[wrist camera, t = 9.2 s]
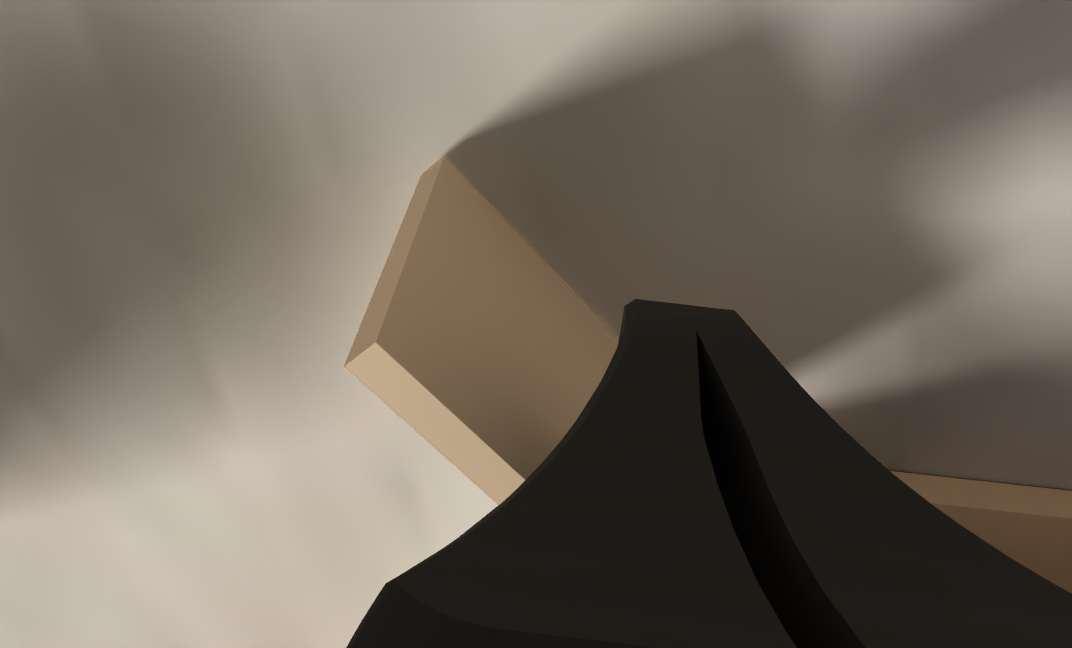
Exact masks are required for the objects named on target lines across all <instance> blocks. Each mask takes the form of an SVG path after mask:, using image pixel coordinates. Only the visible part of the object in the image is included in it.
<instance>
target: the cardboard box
mask: <svg viewBox="0 0 1072 648" xmlns="http://www.w3.org/2000/svg"><path fill="white" fill-rule="evenodd" d="M890 472H891V473H893V474H894V475H895V476H897V477H898V478H899V479H900V480H902V481H903V482H904V483H905V484H907V485H908V486H909V487H910V488H912V489H913V490H914V491H916V492H917V493H918V494H919V495H921V496H922V497H923V498H924V499H926V500H927V501H928V502H929V503H931V504H932V505H933V506H935V507H936V508H938V509H939V510H940V511H942V512H943V513H945V514H946V515H947V516H949V517H950V518H952V519H953V520H954V521H956V522H957V523H959V524H960V525H962V526H963V527H965V528H966V529H968V530H969V531H971V532H972V533H974V534H975V535H977V536H978V537H980V538H981V539H983V540H984V541H986V542H987V543H989V544H990V545H992V546H993V547H995V548H996V549H998V550H999V551H1001V552H1002V553H1004V554H1005V555H1007V556H1009V557H1010V558H1012V559H1013V560H1015V561H1017V562H1018V563H1020V564H1022V565H1023V566H1025V567H1027V568H1028V569H1030V570H1032V571H1033V572H1035V573H1037V574H1038V575H1040V576H1042V577H1043V578H1045V579H1047V580H1048V581H1050V582H1052V583H1054V584H1056V585H1057V586H1059V587H1061V588H1063V589H1065V590H1066V591H1068V592H1070V593H1072V491H1068V490H1059V489H1050V488H1040V487H1031V486H1022V485H1013V484H1004V483H995V482H986V481H977V480H968V479H959V478H950V477H941V476H932V475H923V474H913V473H904V472H895V471H890Z"/></svg>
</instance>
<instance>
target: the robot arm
mask: <svg viewBox="0 0 1072 648" xmlns="http://www.w3.org/2000/svg"><path fill="white" fill-rule="evenodd" d="M346 648H1072V593H1070V592H1068V591H1066V590H1065V589H1063V588H1061V587H1059V586H1057V585H1056V584H1054V583H1052V582H1050V581H1048V580H1047V579H1045V578H1043V577H1042V576H1040V575H1038V574H1037V573H1035V572H1033V571H1032V570H1030V569H1028V568H1027V567H1025V566H1023V565H1022V564H1020V563H1018V562H1017V561H1015V560H1013V559H1012V558H1010V557H1009V556H1007V555H1005V554H1004V553H1002V552H1001V551H999V550H998V549H996V548H995V547H993V546H992V545H990V544H989V543H987V542H986V541H984V540H983V539H981V538H980V537H978V536H977V535H975V534H974V533H972V532H971V531H969V530H968V529H966V528H965V527H963V526H962V525H960V524H959V523H957V522H956V521H954V520H953V519H952V518H950V517H949V516H947V515H946V514H945V513H943V512H942V511H940V510H939V509H938V508H936V507H935V506H933V505H932V504H931V503H929V502H928V501H927V500H926V499H924V498H923V497H922V496H921V495H919V494H918V493H917V492H916V491H914V490H913V489H912V488H910V487H909V486H908V485H907V484H905V483H904V482H903V481H902V480H900V479H899V478H898V477H897V476H895V475H894V474H893V473H891V472H890V471H889V470H888V469H887V468H885V467H884V466H883V465H882V464H881V463H880V462H878V461H877V460H876V459H875V458H874V457H873V456H871V455H870V454H869V453H868V452H867V451H866V450H865V449H864V448H863V447H862V446H861V445H859V444H858V443H857V442H856V441H855V440H854V439H853V438H852V437H851V436H850V435H849V434H848V433H847V432H846V431H845V430H844V429H843V428H841V427H840V426H839V425H838V424H837V423H836V422H835V421H834V420H833V419H832V418H831V417H830V416H829V415H828V414H827V413H826V412H825V411H824V410H823V409H822V408H821V407H820V406H819V405H818V404H817V403H816V402H815V401H814V400H813V398H812V397H811V396H810V395H809V394H808V393H807V392H806V391H805V390H804V389H803V388H802V387H801V386H800V385H799V383H798V382H797V381H796V380H795V379H794V378H793V377H792V376H791V375H790V373H789V372H788V371H787V370H786V369H785V368H784V367H783V366H782V364H781V363H780V362H779V361H778V360H777V359H776V358H775V356H774V355H773V354H772V353H771V352H770V351H769V349H768V348H767V347H766V346H765V345H764V344H763V342H762V341H761V340H760V339H759V338H758V337H757V335H756V334H755V333H754V332H753V331H752V330H751V328H750V327H749V326H748V325H747V324H746V323H745V321H744V320H743V319H742V318H741V317H740V316H739V315H738V314H737V313H736V312H735V311H734V310H725V309H716V308H708V307H699V306H690V305H682V304H673V303H664V302H656V301H647V300H639V299H635V300H633V301H632V302H630V303H629V304H627V305H626V306H625V307H624V313H623V319H622V325H621V330H620V336H619V342H618V346H617V349H616V351H615V353H614V355H613V357H612V359H611V362H610V364H609V366H608V368H607V370H606V372H605V374H604V376H603V378H602V380H601V382H600V383H599V385H598V387H597V388H596V390H595V392H594V393H593V395H592V396H591V398H590V400H589V401H588V403H587V404H586V406H585V407H584V409H583V411H582V412H581V414H580V415H579V417H578V418H577V420H576V421H575V422H574V424H573V425H572V427H571V428H570V429H569V431H568V432H567V433H566V435H565V436H564V437H563V438H562V440H561V441H560V442H559V443H558V445H557V446H556V447H555V448H554V449H553V451H552V452H551V453H550V454H549V455H548V457H547V458H546V459H545V460H544V461H543V462H542V463H541V464H540V465H539V466H538V468H537V469H536V470H535V471H534V472H533V473H532V474H531V475H530V476H529V477H528V478H527V479H526V480H525V481H524V482H523V483H522V484H521V485H520V486H519V487H518V488H517V489H516V490H515V491H514V492H513V493H512V494H511V495H510V496H509V497H508V498H506V499H505V500H504V501H503V502H502V503H501V504H500V505H499V506H497V507H496V508H495V509H494V510H492V511H491V512H490V513H489V514H487V515H486V516H485V517H484V518H482V519H481V520H480V521H479V522H477V523H476V524H475V525H474V526H472V527H471V528H470V529H469V530H467V531H466V532H465V533H464V534H462V535H461V536H460V537H459V538H457V539H456V540H454V541H453V542H452V543H450V544H449V545H447V546H446V547H444V548H443V549H441V550H440V551H438V552H437V553H435V554H433V555H432V556H430V557H428V558H427V559H425V560H424V561H422V562H420V563H419V564H417V565H416V566H414V567H412V568H411V569H409V570H408V571H406V572H404V573H403V574H401V575H400V576H398V577H396V578H395V579H393V580H391V581H389V582H387V583H386V584H385V586H384V587H383V589H382V590H381V592H380V593H379V595H378V596H377V598H376V599H375V601H374V602H373V604H372V606H371V607H370V609H369V610H368V612H367V614H366V615H365V617H364V618H363V620H362V622H361V623H360V625H359V627H358V628H357V630H356V632H355V634H354V635H353V637H352V639H351V641H350V642H349V644H348V646H347V647H346Z"/></svg>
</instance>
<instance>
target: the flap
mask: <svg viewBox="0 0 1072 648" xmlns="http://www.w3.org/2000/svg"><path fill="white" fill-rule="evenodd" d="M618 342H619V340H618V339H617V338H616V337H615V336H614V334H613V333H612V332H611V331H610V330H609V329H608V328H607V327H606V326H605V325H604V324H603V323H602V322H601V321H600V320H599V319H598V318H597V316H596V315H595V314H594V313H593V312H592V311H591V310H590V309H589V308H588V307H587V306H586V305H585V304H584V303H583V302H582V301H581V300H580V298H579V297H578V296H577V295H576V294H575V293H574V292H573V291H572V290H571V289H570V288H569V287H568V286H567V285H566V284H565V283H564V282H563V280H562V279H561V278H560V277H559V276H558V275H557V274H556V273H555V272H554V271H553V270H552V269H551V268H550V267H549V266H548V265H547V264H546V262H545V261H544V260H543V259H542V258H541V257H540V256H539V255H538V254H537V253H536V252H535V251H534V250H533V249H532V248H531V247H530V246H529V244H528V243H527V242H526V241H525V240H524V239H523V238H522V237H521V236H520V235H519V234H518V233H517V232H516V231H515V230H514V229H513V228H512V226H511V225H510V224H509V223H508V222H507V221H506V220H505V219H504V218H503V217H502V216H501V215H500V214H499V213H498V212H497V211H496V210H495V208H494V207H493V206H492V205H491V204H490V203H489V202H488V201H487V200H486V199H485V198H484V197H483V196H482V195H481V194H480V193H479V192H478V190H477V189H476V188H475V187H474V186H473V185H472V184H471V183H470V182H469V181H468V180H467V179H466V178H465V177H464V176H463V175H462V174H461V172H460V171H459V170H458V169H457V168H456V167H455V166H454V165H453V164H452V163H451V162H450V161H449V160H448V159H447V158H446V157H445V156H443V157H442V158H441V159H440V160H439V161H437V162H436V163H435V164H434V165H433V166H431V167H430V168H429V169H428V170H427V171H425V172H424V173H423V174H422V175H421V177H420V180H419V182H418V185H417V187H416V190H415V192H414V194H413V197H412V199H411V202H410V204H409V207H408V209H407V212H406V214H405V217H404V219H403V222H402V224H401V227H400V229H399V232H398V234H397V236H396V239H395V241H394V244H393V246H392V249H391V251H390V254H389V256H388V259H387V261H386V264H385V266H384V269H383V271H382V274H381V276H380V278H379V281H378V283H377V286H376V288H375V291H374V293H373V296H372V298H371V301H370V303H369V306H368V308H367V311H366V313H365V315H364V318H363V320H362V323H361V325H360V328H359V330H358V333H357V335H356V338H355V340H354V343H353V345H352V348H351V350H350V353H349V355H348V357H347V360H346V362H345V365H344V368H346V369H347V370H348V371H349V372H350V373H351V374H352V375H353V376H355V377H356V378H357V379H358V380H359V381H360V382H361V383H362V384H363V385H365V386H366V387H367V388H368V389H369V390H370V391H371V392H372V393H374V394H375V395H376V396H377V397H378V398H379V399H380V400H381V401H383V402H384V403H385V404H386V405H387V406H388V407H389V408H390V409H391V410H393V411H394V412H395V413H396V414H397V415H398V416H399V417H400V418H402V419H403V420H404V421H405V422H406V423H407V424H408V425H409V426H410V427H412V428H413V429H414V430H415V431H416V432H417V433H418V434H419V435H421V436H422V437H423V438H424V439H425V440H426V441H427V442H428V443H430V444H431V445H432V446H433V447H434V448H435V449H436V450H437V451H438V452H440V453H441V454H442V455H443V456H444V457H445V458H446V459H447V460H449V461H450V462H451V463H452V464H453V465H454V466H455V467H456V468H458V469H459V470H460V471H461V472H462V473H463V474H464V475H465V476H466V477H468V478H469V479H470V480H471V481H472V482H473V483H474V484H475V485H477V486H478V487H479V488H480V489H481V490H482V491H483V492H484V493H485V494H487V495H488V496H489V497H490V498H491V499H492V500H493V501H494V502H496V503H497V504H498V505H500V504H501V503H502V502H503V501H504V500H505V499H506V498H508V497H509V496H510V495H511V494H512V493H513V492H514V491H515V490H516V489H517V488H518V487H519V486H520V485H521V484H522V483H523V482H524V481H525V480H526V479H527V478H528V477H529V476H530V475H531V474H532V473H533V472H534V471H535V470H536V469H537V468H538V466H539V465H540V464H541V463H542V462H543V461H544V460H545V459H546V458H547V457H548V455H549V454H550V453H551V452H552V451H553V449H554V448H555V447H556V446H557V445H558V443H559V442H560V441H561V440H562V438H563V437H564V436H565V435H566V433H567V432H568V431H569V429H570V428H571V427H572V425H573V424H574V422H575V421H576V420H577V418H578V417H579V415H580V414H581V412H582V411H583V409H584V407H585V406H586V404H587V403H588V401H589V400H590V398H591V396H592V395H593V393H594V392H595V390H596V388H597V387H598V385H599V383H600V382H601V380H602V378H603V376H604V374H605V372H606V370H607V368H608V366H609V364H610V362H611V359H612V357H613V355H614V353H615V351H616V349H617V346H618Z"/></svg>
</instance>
